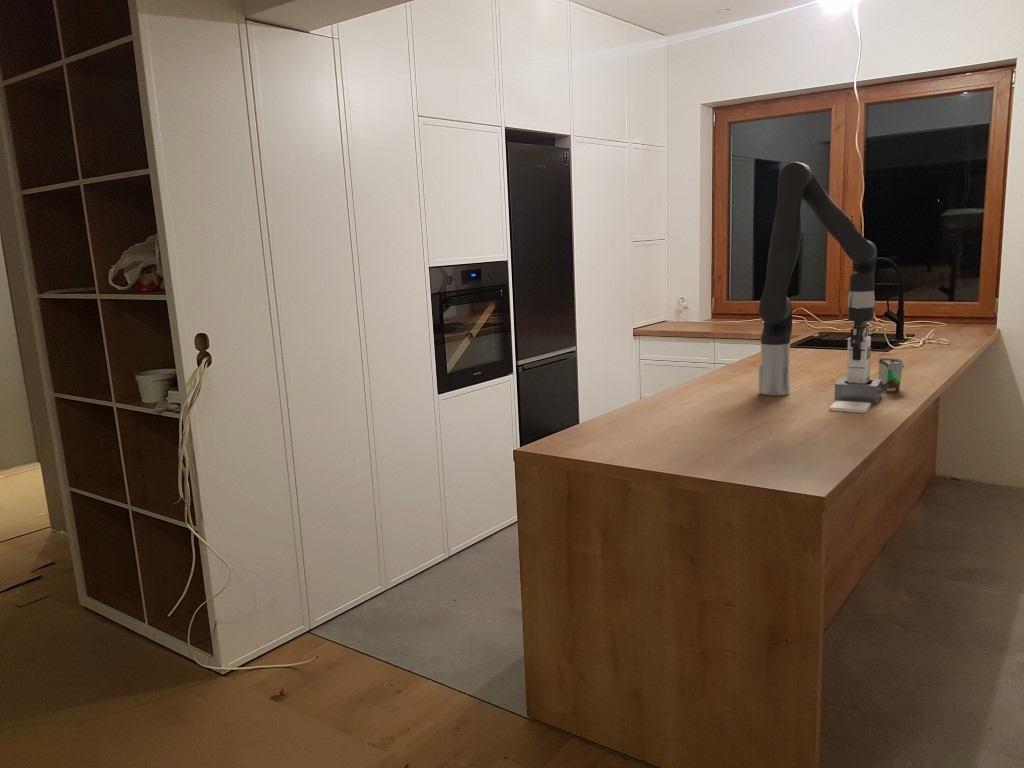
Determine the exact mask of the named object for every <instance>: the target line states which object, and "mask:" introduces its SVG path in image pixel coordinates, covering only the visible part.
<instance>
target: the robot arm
mask: <svg viewBox="0 0 1024 768" xmlns="http://www.w3.org/2000/svg"><path fill="white" fill-rule="evenodd" d="M777 181H778V182H777V197H776V198H777V199H776V200H777V201H776V208H775V209H776V210H775V214H774V217H773V218H774V219H773V224H772V231H771V234H770V242H769V247H768V255H767V264H766V275H765V283H764V287H763V291H762V293H761V294H762V295H761V297H760V302H759V304H758V313H759V316H760V318H761V320H762V321H763V330H762V333H761V335H760V365H759V366H758V394H760V395H765V396H775V397H776V396H787V395H789V394H790V389H791V388H790V387H791V385H790V383H791V382H790V381H791V379H790V378H791V377H790V376H791V373H790V372H791V371H790V367H791V366H790V365H791V336H792V331H793V315H794V314H793V311H794V310H793V304H792V302H791V299H790V298H789V297H788V290H789V282H790V280H791V277H792V274H793V272H794V268H795V267H796V264H797V260H798V258H799V254H800V253H799V252H800V247H801V240H802V219H801V217H802V216H801V209H802V202H803V201H804V202H805V203H806V204H807V205H808V207H810V209H811V210H812V212H813V213H814V214H815V216H816V217H817V219H818V220H819V222H820V223H821V224H822V227H824V228H825V230H826V231H827V232H828V233H829V234H830V236H832V238H833V239H834V240H835V241H836V242H837V243H838V244H839V245H840V247H841V248H842V250H843V251H844V253H845V254H846V255H847V257H848V258H849V259H850V260H851V261H852V267H851V268H852V272H851V274H850V277H849V288H848V289H849V291H848V297H847V298H848V299H847V320H848V321H849V322H853V326H852V327H851V328H850V337H851V347H852V348H853V360H860V359H861V347H862V346H861V345H862V341H863V340H864V336H870V335H869V333H870V326H871V324H870V323H867V322H872V321H874V319H875V301H876V299H875V271H876V265H877V258H878V249H877V246H876V244H875V243H874V242H872V241H871V240H868V239H866V238H865V237H864V236H863V234H862V233H861V232H860V231H859V230H858V227H857V225H856V224H855V223H854V222H853V220H852V219H851V218H850V217H849V216H848V215H847V213H845V212H844V211H843V210H842V208H841V207H839V205H838V204H836V202H835V201H834V200H833V199H832V197H830V195H829V194H828V193H827V192H826V190H824V188H823V187H822V185H821V183H820V182H819V181H818V179H817V178H816V176H815V174H814V172H813V171H812V169H811V167H810V166H809V165H807V164H806V163H803V162H799V161H792V162H789V163H786V164H785V165H784V166H783V167H782V168H781V170H780V172H779V174H778V179H777ZM855 341H857V342H858V343H855Z"/></svg>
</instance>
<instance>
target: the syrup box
mask: <svg viewBox="0 0 1024 768" xmlns="http://www.w3.org/2000/svg"><path fill="white" fill-rule="evenodd" d="M871 340H872V337H871V336H870V335H869V336H864V340H863V341H862V345H861V346H862V347H861V359H860V360H853V348H852V347H851V336H850V337H848V338H847V358H846V359H847V361H846V362H847V363H846V365H847V366H846V367H847V368H846V369H847V370H846V377H847V382H848V383H859V384H866V383H867V382H868V381H869V380H870V379H871V349H872V347H871V346H872V344H871V343H872V341H871ZM855 343H858V342H857V341H855Z"/></svg>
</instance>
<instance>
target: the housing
mask: <svg viewBox="0 0 1024 768" xmlns="http://www.w3.org/2000/svg"><path fill="white" fill-rule="evenodd" d="M882 393H883V390H882V379H879V378H870V380H869V381H868V382H867V383H866V384H859V383H848V382H847V376H846V377H844V376H841V378H840V379H838V381H837V382H835V384H834V402H835V401H852V402H868V403H871V404H874V405H875V404H877V403H878V402H879V400H880V399H881V397H882V396H883V395H882Z"/></svg>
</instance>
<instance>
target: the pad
mask: <svg viewBox="0 0 1024 768" xmlns="http://www.w3.org/2000/svg"><path fill="white" fill-rule="evenodd" d="M871 406H872V403H868V402H852V401H835V400H834V402H833V403H832V404H831V405H830V406H829V411H830V410H831V411H833V412H843V411H845V413H846V412H847V413H857V412H858V413H862V414H866V413H867V411H868V410H869V409H870V408H871Z"/></svg>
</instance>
